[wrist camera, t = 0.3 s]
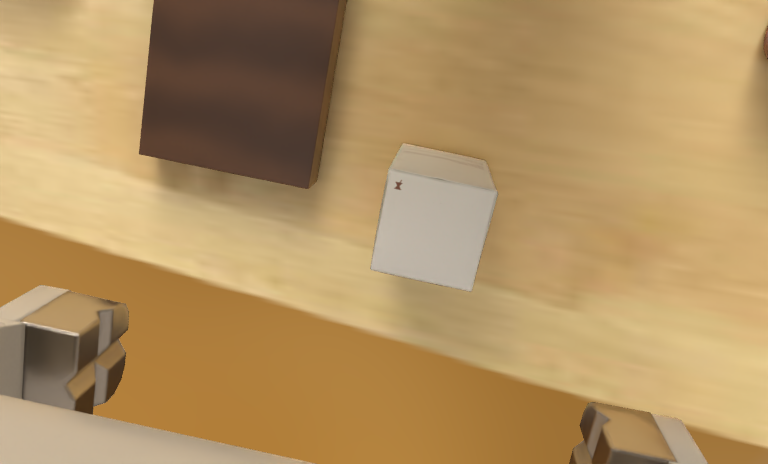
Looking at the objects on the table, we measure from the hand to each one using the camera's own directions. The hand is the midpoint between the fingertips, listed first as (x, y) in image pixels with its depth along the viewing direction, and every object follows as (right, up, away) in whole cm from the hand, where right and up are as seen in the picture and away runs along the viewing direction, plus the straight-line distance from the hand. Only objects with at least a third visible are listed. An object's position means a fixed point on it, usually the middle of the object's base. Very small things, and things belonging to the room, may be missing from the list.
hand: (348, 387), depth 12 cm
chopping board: (-10, +18, +45) cm, 49 cm away
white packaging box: (+5, +6, +47) cm, 47 cm away
